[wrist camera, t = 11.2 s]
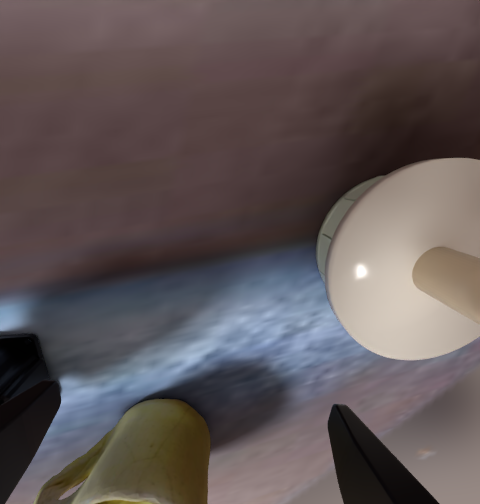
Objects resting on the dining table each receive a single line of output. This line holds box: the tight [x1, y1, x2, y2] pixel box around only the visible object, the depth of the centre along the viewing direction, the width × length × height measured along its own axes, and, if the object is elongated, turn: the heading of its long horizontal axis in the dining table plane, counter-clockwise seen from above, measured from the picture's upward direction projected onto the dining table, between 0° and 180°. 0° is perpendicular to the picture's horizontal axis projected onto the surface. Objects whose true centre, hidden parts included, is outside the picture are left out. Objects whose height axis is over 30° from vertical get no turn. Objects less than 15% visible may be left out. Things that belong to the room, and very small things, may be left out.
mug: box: [33, 399, 210, 504], centre depth 22 cm, size 12×10×10 cm
